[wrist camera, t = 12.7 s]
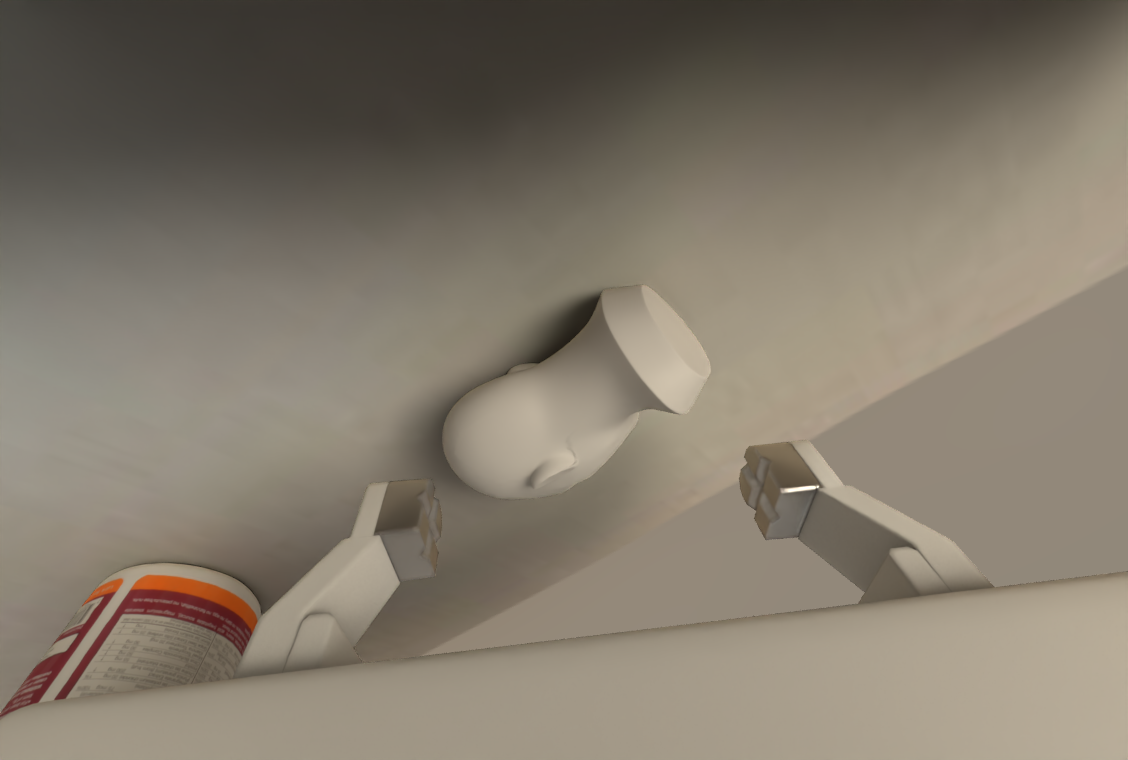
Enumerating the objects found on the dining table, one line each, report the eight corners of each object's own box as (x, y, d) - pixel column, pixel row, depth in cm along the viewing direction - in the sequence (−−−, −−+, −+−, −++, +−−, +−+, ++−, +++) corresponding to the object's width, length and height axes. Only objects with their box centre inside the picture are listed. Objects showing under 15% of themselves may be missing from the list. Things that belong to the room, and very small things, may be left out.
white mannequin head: (509, 439, 18) (410, 383, 14) (693, 332, 16) (634, 234, 12) (532, 546, 16) (419, 513, 12) (756, 437, 13) (705, 353, 10)
